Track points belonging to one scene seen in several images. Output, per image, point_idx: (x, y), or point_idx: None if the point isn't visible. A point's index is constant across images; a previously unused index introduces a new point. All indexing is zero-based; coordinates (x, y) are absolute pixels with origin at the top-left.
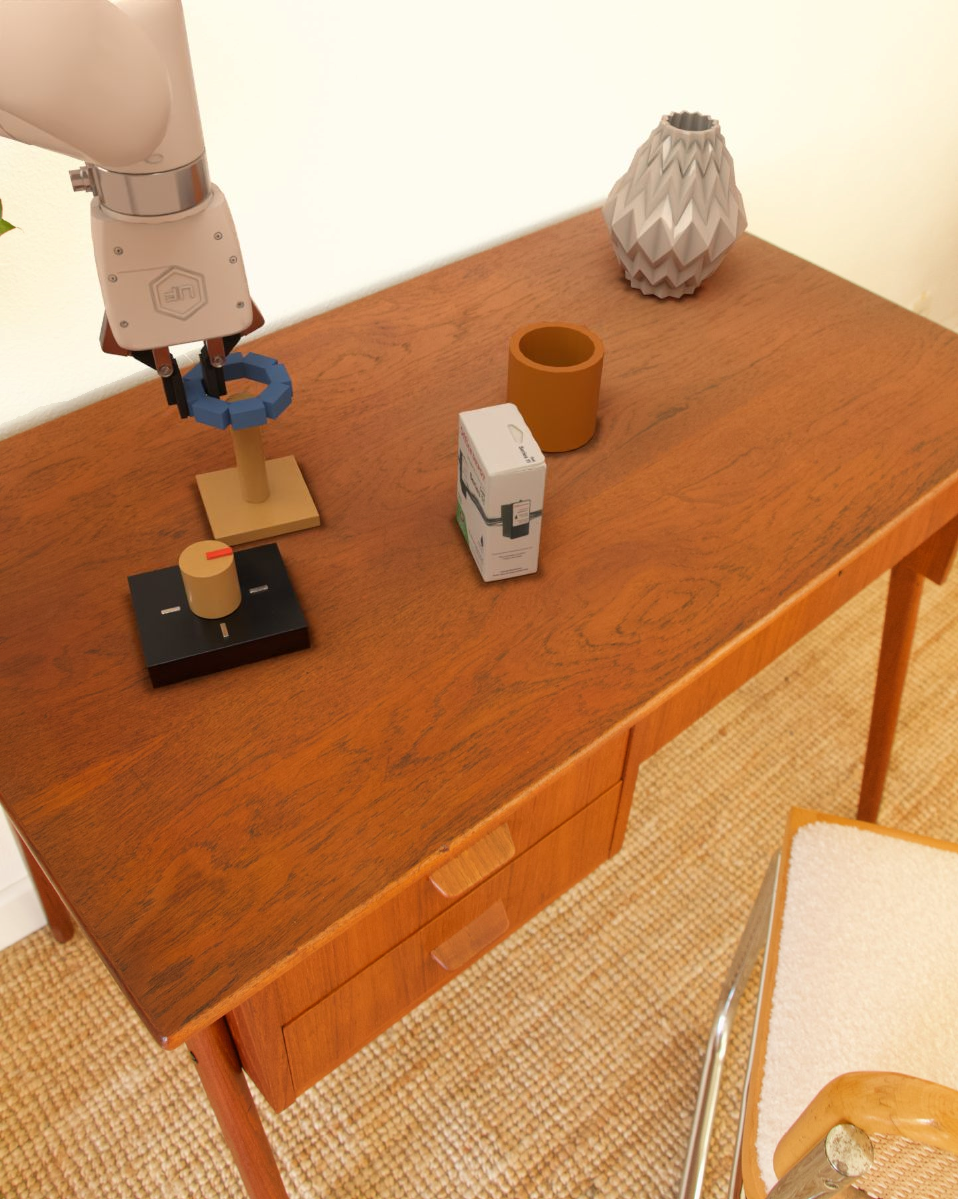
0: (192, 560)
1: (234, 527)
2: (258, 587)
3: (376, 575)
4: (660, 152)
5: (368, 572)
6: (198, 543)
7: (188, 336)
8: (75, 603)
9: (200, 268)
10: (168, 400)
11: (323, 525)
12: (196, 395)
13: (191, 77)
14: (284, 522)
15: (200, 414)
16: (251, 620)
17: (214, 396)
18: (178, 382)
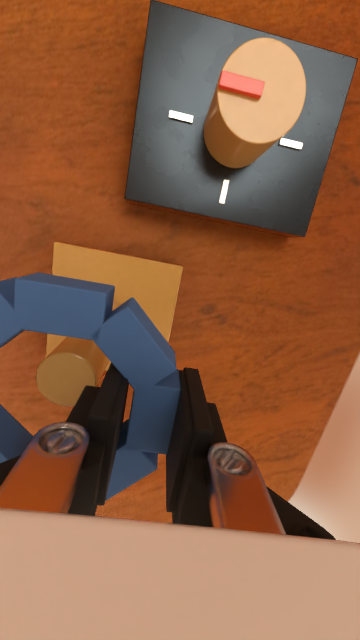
0: (282, 100)
1: (156, 274)
2: (180, 119)
3: (26, 114)
4: None
5: (34, 126)
6: (256, 139)
7: (151, 562)
8: (338, 262)
9: None
10: (215, 408)
11: (56, 240)
12: (154, 397)
13: None
14: (98, 252)
15: (165, 348)
16: (213, 61)
17: (118, 375)
18: (198, 419)
